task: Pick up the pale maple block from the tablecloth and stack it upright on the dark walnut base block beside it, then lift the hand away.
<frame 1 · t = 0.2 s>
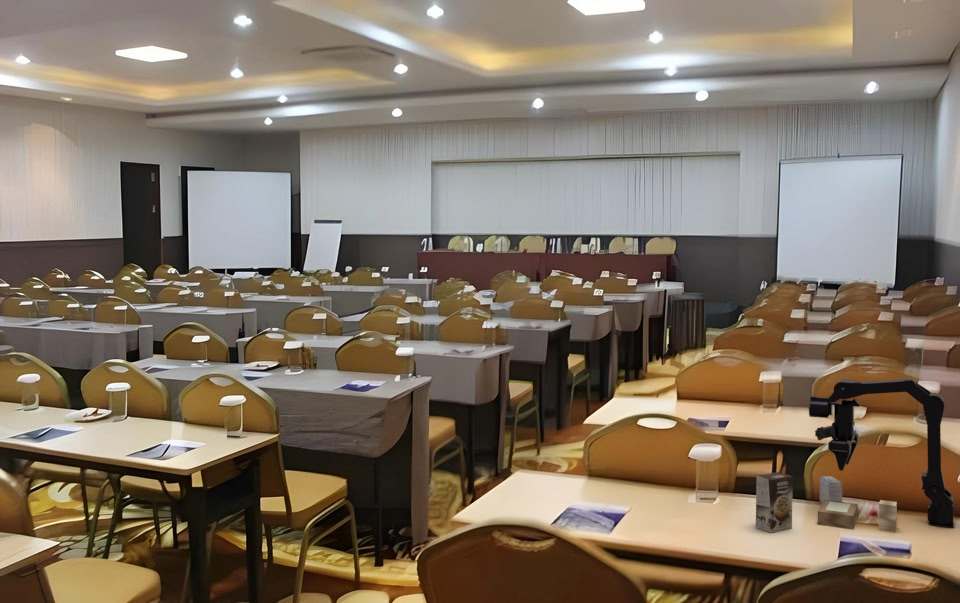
hand: (843, 467, 262), 14 cm above the table, tool pointing down, fingers open, 9 cm apart
maple block: (887, 529, 245), on the table
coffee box: (774, 528, 247), on the table
walnut base: (837, 520, 254), on the table
medicine box: (830, 505, 270), on the table
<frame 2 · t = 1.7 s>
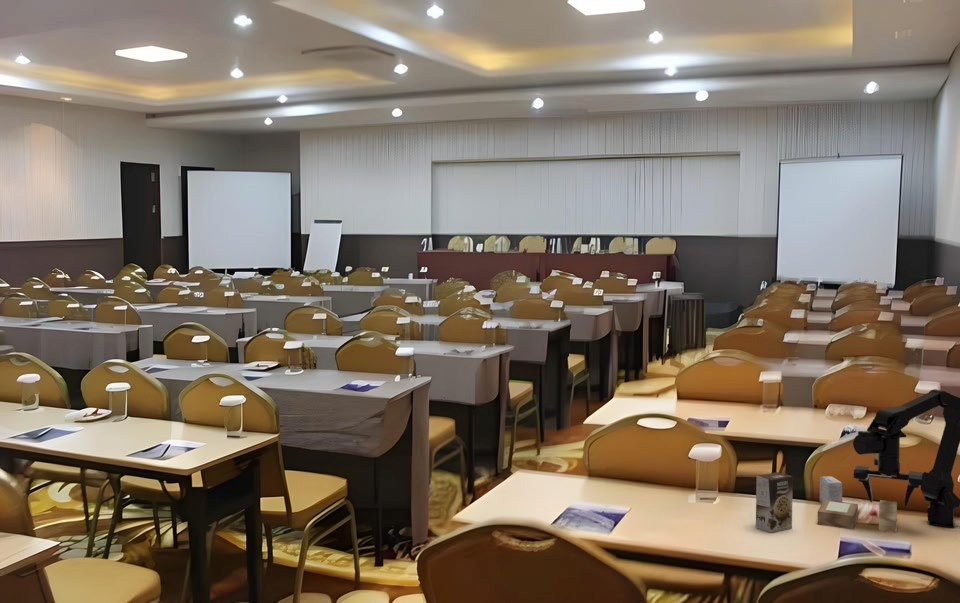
hand: (888, 503, 245), 8 cm above the table, tool pointing down, fingers open, 9 cm apart
nothing on the table moved.
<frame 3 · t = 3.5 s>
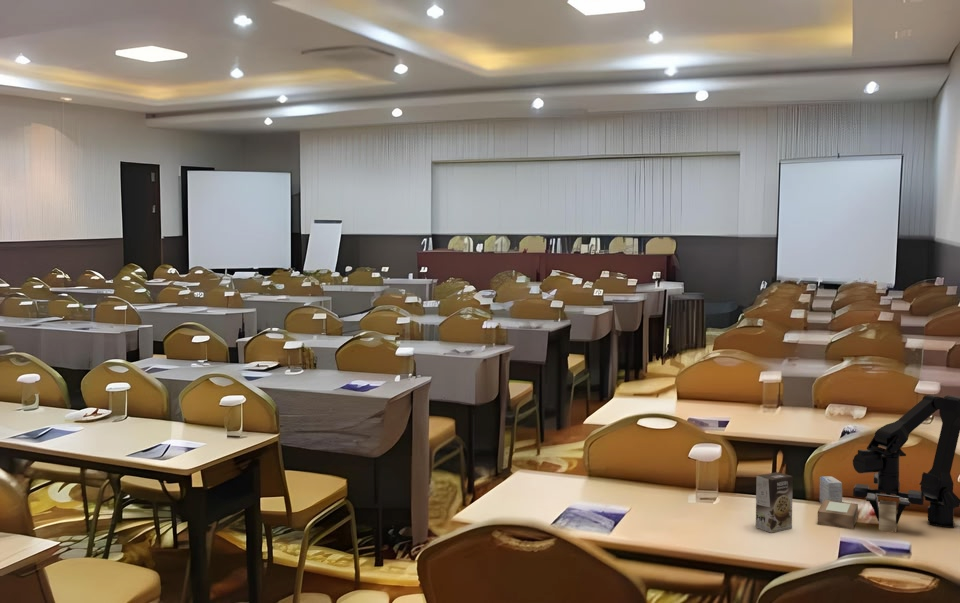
hand: (887, 522, 245), 2 cm above the table, tool pointing down, fingers closed on maple block, 4 cm apart
maple block: (887, 529, 245), on the table, touching gripper
everything else where it was.
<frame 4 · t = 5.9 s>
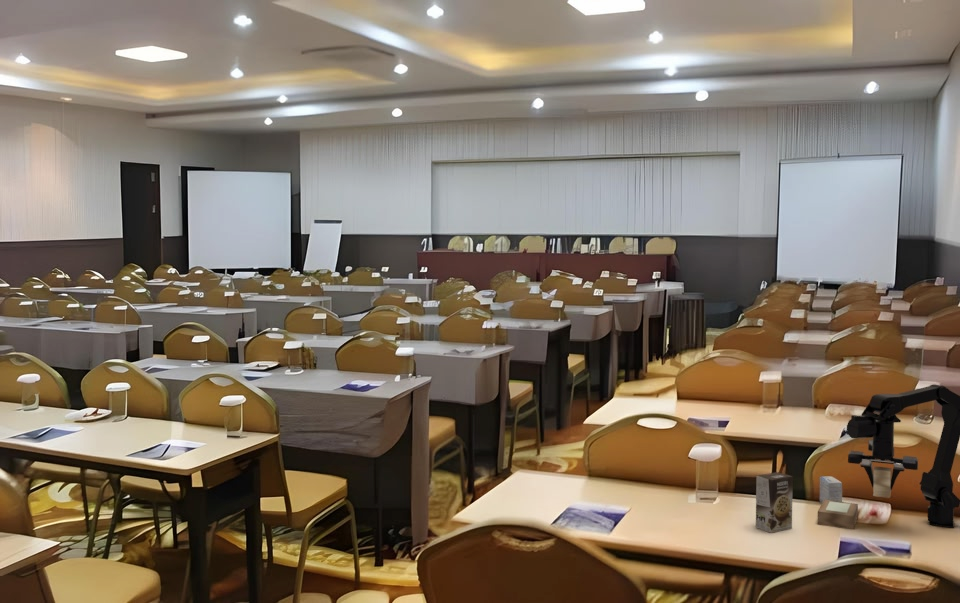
hand: (882, 488, 246), 12 cm above the table, tool pointing down, fingers closed on maple block, 4 cm apart
maple block: (882, 495, 246), point 10 cm above the table, touching gripper
everything else where it was.
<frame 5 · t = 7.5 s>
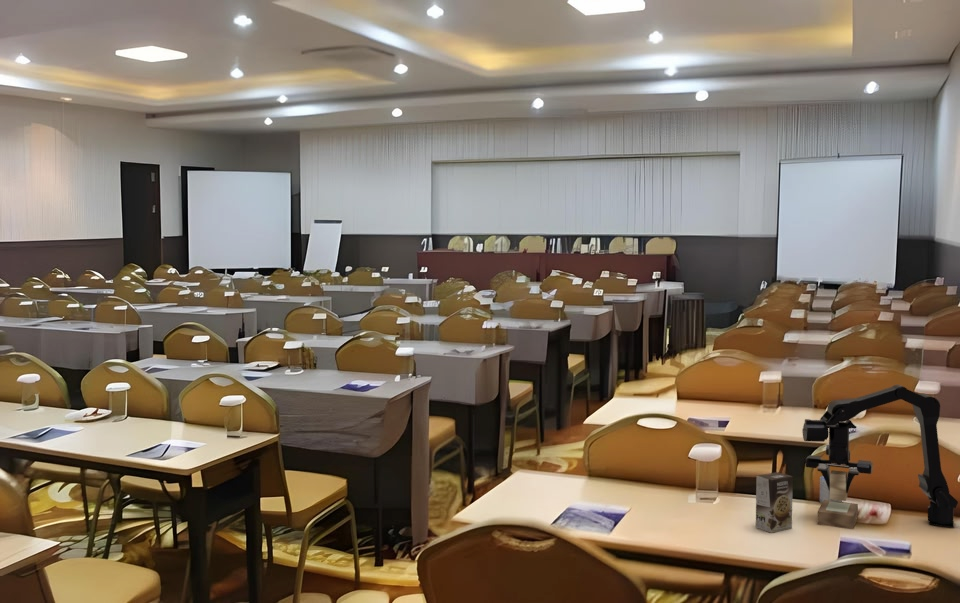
hand: (838, 491, 254), 9 cm above the table, tool pointing down, fingers closed on maple block, 4 cm apart
maple block: (838, 498, 254), point 7 cm above the table, touching gripper
everything else where it was.
when the fingers open (8 cm above the table, at t = 8.5 s): maple block drops 1 cm, resting on walnut base.
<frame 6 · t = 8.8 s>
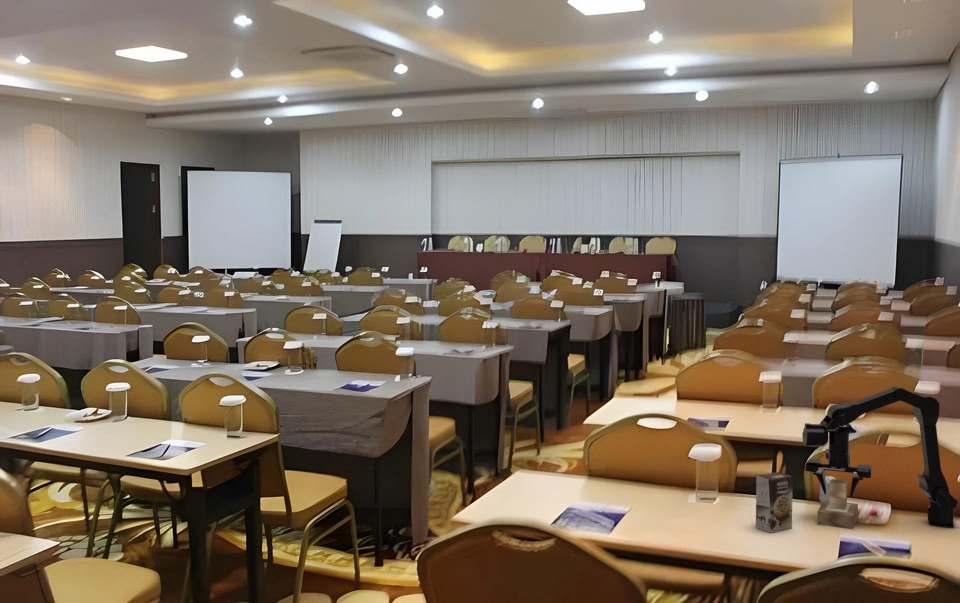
hand: (838, 495, 254), 8 cm above the table, tool pointing down, fingers open, 7 cm apart
maple block: (838, 506, 254), point 4 cm above the table, touching walnut base
everything else where it was.
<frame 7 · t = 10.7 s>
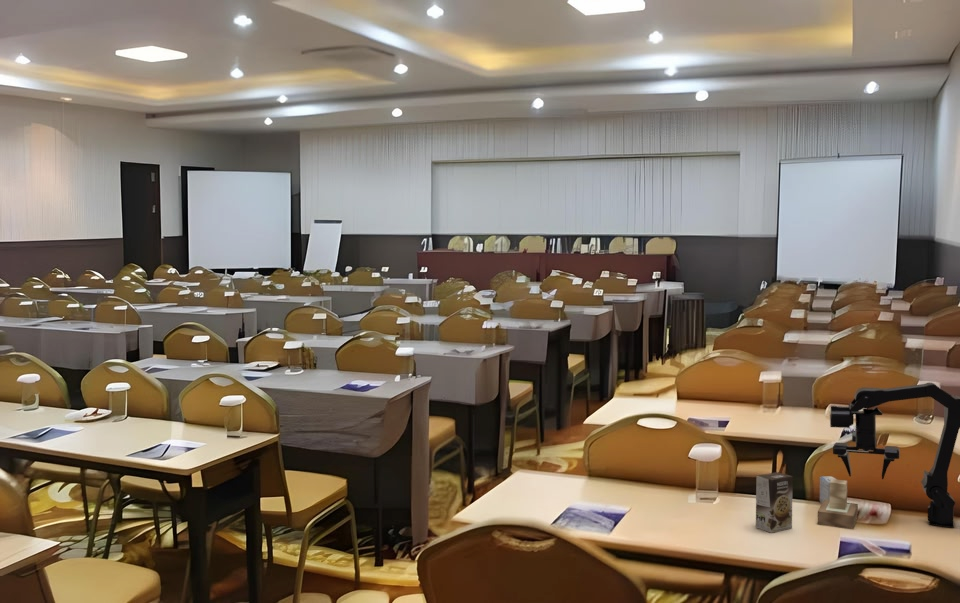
hand: (866, 477, 256), 13 cm above the table, tool pointing down, fingers open, 9 cm apart
nothing on the table moved.
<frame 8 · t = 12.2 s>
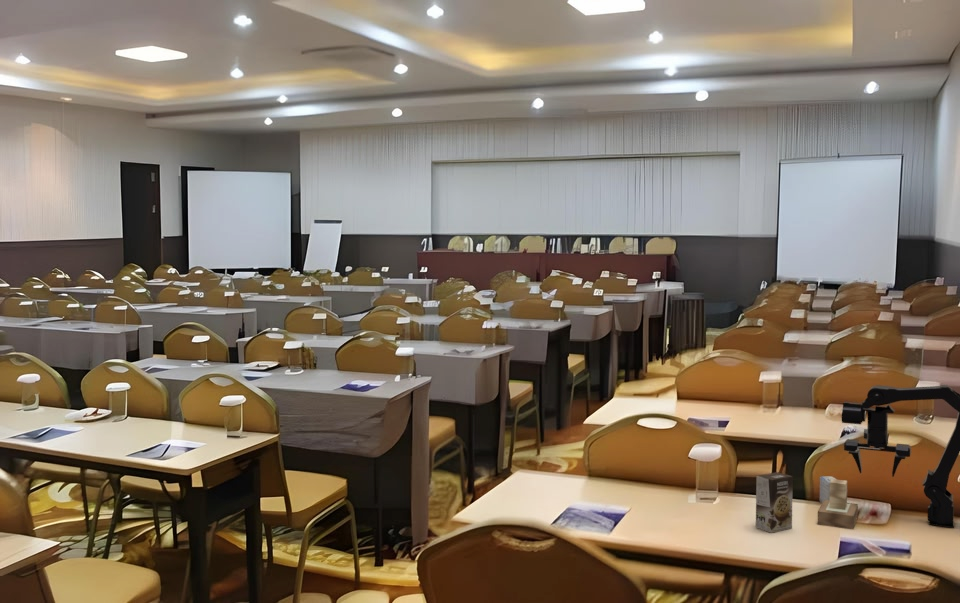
hand: (876, 474, 258), 13 cm above the table, tool pointing down, fingers open, 9 cm apart
nothing on the table moved.
at the end: maple block inside the target area on the walnut base (0.1 cm from its centre), point 4.2 cm above the walnut base's base; maple block tilted 0°; the gripper is holding nothing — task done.
